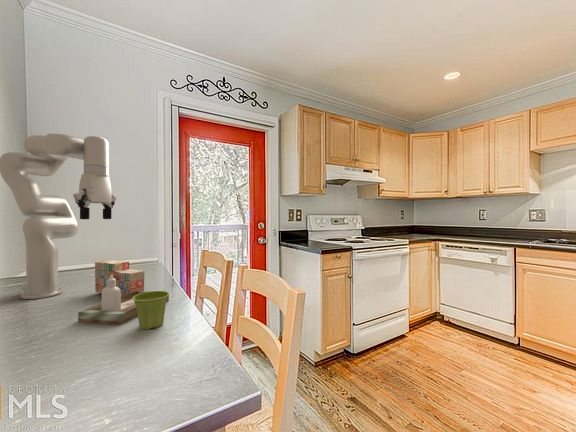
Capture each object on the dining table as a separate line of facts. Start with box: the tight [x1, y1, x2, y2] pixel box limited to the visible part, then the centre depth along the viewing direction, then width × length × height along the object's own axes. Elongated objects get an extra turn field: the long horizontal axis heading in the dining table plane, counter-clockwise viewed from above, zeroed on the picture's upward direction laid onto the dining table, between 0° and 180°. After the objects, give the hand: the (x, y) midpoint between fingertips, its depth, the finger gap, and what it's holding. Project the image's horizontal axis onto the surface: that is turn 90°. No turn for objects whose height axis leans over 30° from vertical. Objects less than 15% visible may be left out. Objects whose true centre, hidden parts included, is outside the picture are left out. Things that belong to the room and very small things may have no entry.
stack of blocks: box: [94, 259, 145, 296], centre depth 111 cm, size 21×6×12 cm, turn 65°
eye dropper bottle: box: [101, 275, 121, 312], centre depth 86 cm, size 4×6×12 cm
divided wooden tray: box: [77, 290, 170, 326], centre depth 93 cm, size 14×24×3 cm, turn 171°
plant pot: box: [133, 290, 170, 330], centre depth 80 cm, size 9×9×9 cm
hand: (96, 219), depth 101 cm, fingers open, 9 cm apart
